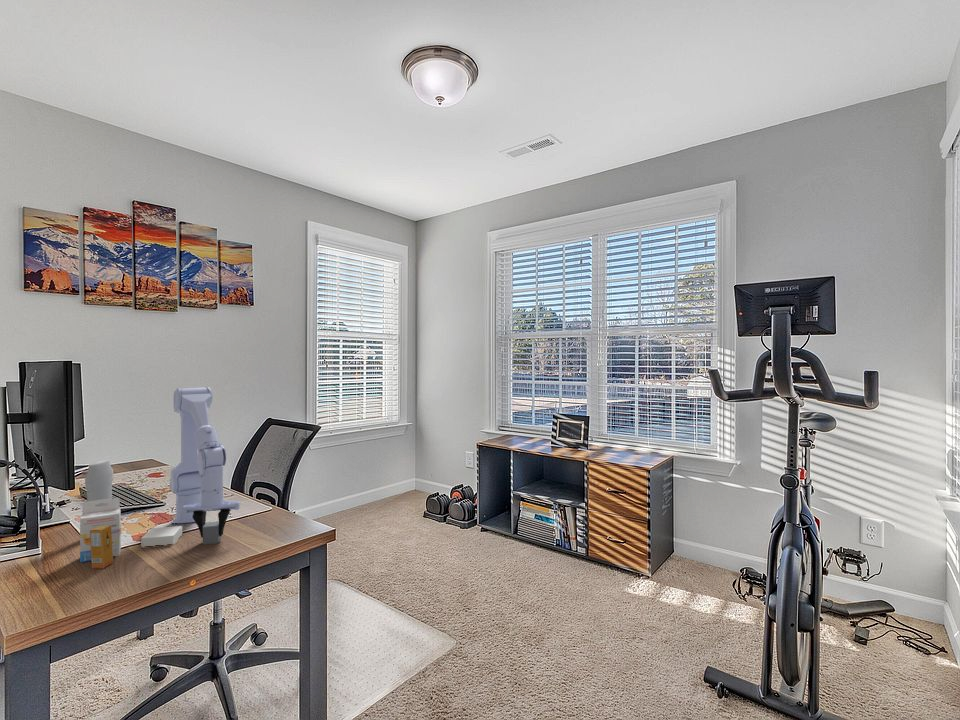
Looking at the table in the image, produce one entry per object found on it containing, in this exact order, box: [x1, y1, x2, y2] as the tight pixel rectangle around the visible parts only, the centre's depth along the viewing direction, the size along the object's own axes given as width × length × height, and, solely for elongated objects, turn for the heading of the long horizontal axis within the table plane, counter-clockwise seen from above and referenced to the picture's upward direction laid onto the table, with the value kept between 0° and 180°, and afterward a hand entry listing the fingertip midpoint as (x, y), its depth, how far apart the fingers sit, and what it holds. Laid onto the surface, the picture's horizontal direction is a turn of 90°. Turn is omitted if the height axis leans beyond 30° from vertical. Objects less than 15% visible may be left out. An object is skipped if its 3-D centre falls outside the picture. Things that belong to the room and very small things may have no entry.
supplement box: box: [90, 526, 114, 569], centre depth 126 cm, size 3×3×10 cm
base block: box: [140, 525, 183, 548], centre depth 143 cm, size 8×8×3 cm
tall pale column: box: [84, 459, 114, 507], centre depth 148 cm, size 11×4×22 cm, turn 1°
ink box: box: [79, 497, 122, 563], centre depth 132 cm, size 8×5×15 cm, turn 123°
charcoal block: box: [202, 520, 222, 545], centre depth 143 cm, size 4×4×5 cm
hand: (212, 535), depth 143 cm, fingers closed on charcoal block, 4 cm apart
